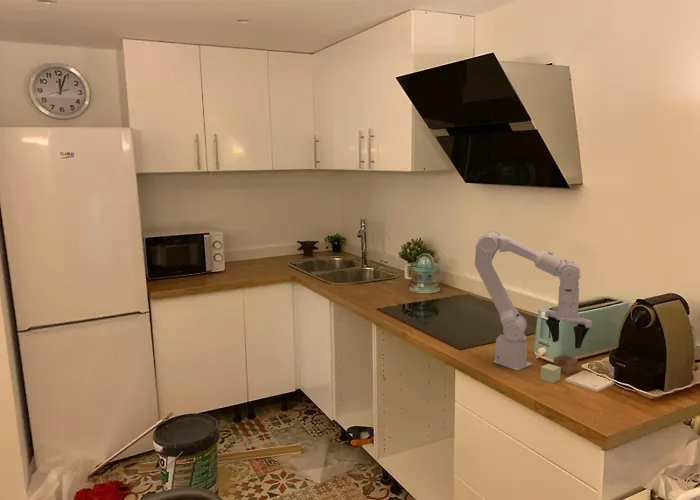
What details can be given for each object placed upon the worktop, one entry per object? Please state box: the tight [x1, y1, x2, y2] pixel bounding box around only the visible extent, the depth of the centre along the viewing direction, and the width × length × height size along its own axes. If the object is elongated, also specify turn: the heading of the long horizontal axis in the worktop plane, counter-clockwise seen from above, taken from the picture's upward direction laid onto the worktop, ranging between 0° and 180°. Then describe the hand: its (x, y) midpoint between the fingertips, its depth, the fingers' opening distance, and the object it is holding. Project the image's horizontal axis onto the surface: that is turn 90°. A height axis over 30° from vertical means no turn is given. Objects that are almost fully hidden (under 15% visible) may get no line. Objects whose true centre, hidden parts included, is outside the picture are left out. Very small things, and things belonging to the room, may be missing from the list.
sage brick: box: [540, 363, 562, 384], centre depth 158 cm, size 4×4×4 cm
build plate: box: [564, 370, 615, 393], centre depth 156 cm, size 10×10×1 cm
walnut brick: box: [553, 353, 578, 375], centre depth 165 cm, size 5×5×4 cm
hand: (566, 344), depth 164 cm, fingers open, 7 cm apart
